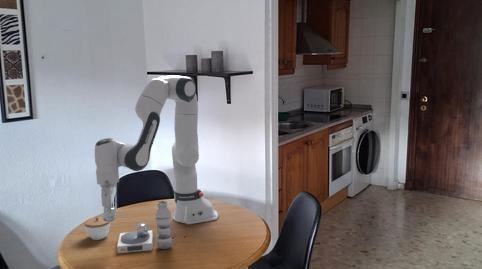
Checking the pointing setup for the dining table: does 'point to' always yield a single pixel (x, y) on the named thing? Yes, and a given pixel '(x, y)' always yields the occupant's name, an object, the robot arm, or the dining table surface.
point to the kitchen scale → (134, 242)
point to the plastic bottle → (163, 226)
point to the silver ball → (142, 230)
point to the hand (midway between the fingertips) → (110, 210)
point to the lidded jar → (97, 228)
